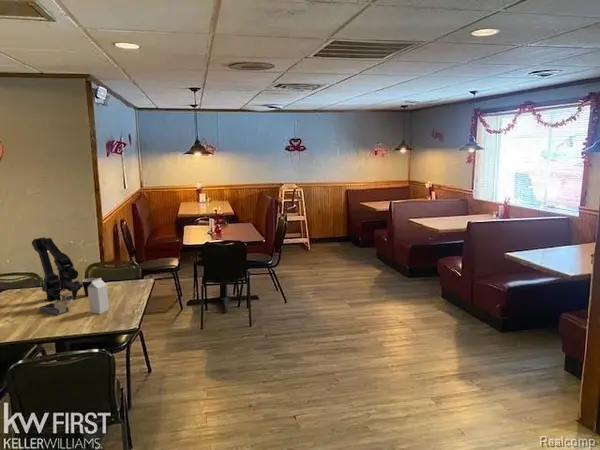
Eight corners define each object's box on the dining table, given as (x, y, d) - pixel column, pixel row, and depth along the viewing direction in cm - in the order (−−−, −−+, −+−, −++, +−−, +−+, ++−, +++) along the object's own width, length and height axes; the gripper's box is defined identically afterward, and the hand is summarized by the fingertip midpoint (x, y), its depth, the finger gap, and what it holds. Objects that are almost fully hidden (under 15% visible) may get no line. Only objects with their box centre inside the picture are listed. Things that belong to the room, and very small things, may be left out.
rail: (40, 311, 265) (38, 299, 263) (52, 307, 271) (50, 296, 270) (56, 315, 257) (55, 303, 255) (68, 311, 263) (67, 300, 262)
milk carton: (109, 309, 264) (106, 278, 261) (100, 314, 257) (96, 281, 254) (99, 308, 266) (96, 277, 263) (90, 313, 260) (86, 280, 257)
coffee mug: (92, 297, 288) (91, 282, 286) (80, 296, 290) (78, 281, 288) (104, 291, 299) (102, 276, 298) (92, 291, 301) (90, 276, 299)
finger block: (62, 304, 276) (61, 294, 275) (68, 302, 280) (67, 293, 279) (67, 305, 274) (66, 296, 273) (73, 303, 277) (72, 294, 276)
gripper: (57, 283, 262) (60, 309, 265) (87, 274, 278) (89, 299, 281) (46, 280, 268) (49, 306, 270) (75, 272, 284) (78, 297, 286)
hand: (67, 302), depth 277 cm, fingers open, 9 cm apart
